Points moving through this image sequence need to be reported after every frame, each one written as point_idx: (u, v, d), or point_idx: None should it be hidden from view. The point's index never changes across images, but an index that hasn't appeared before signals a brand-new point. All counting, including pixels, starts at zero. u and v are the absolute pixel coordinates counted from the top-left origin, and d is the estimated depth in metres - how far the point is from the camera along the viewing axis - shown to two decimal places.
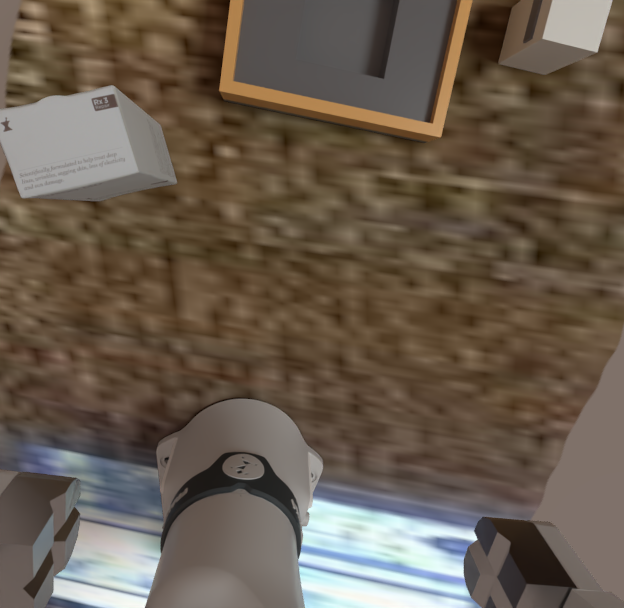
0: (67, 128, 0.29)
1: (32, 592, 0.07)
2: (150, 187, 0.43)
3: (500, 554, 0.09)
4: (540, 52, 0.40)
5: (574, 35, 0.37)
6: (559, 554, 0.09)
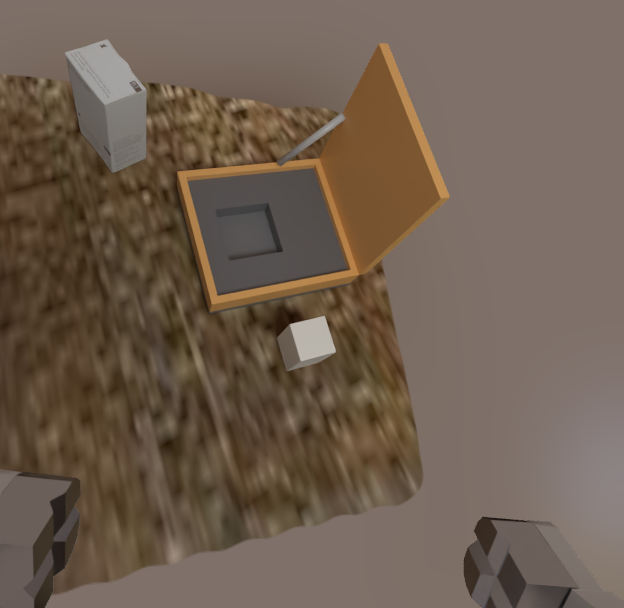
0: (114, 71, 0.54)
1: (32, 592, 0.07)
2: (102, 155, 0.64)
3: (500, 554, 0.09)
4: (287, 340, 0.61)
5: (301, 342, 0.58)
6: (559, 554, 0.09)
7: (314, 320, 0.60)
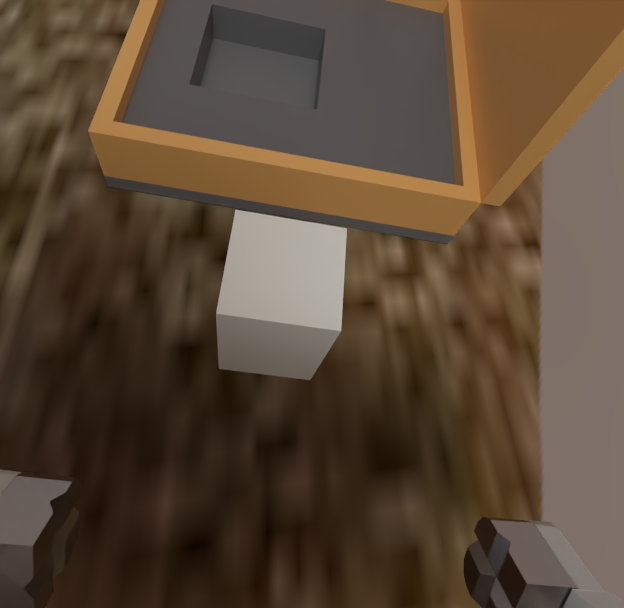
0: None
1: (32, 592, 0.07)
2: None
3: (500, 554, 0.09)
4: None
5: (246, 264, 0.19)
6: (559, 554, 0.09)
7: (312, 227, 0.20)
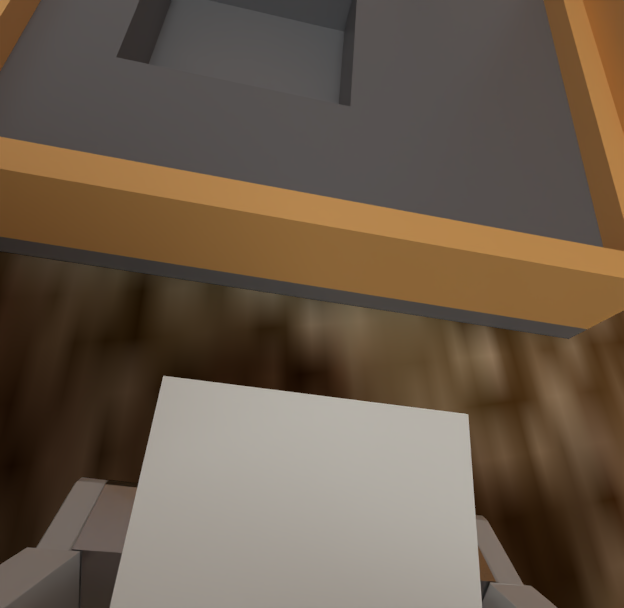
0: None
1: None
2: None
3: None
4: None
5: (183, 580, 0.06)
6: (484, 548, 0.08)
7: (378, 419, 0.07)
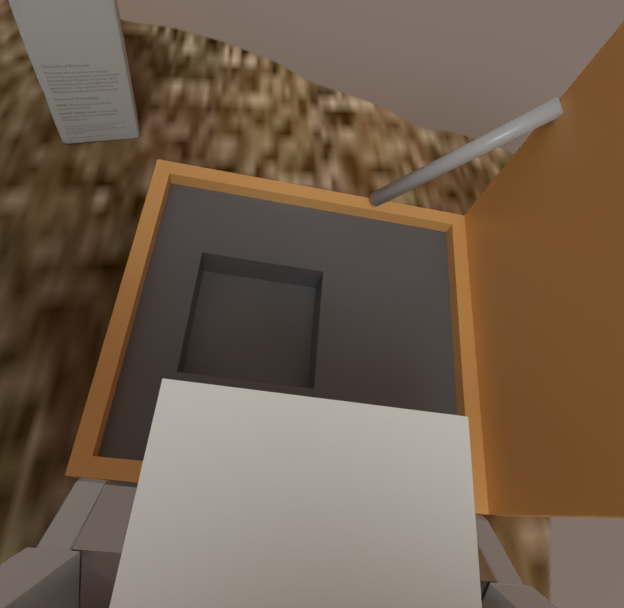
0: None
1: None
2: None
3: None
4: None
5: (181, 583, 0.06)
6: (483, 548, 0.08)
7: (377, 422, 0.07)
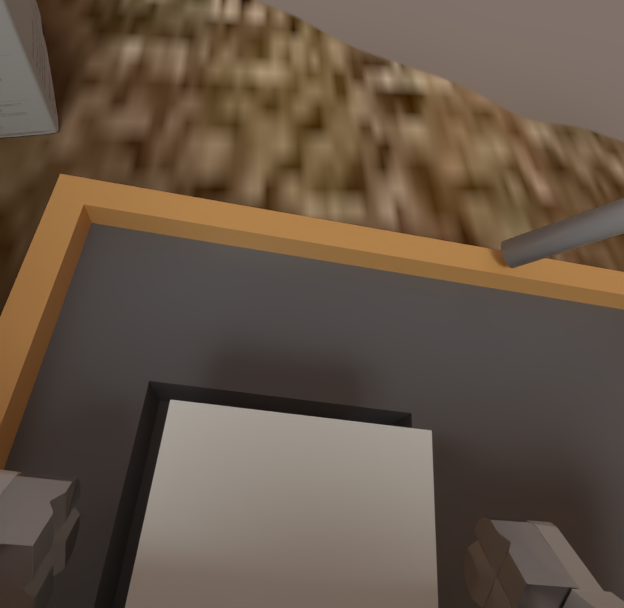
0: None
1: (32, 592, 0.07)
2: None
3: (500, 554, 0.09)
4: None
5: (187, 571, 0.07)
6: (559, 554, 0.09)
7: (353, 436, 0.09)
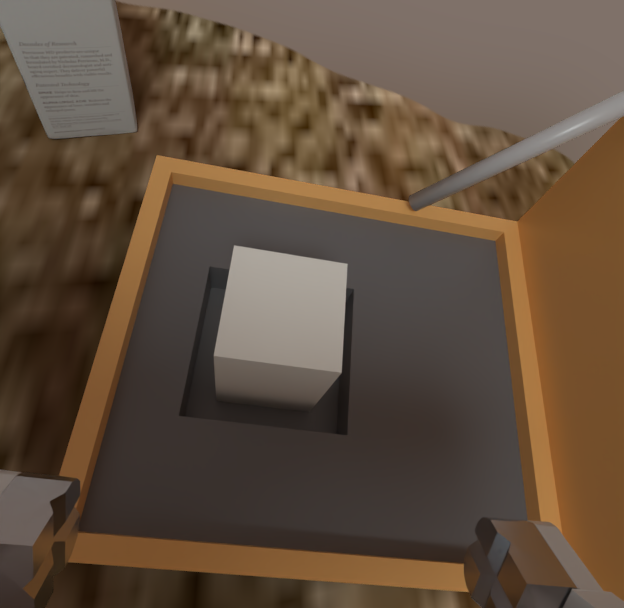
0: None
1: (32, 592, 0.07)
2: None
3: (500, 554, 0.09)
4: None
5: (244, 303, 0.18)
6: (559, 554, 0.09)
7: (312, 263, 0.20)
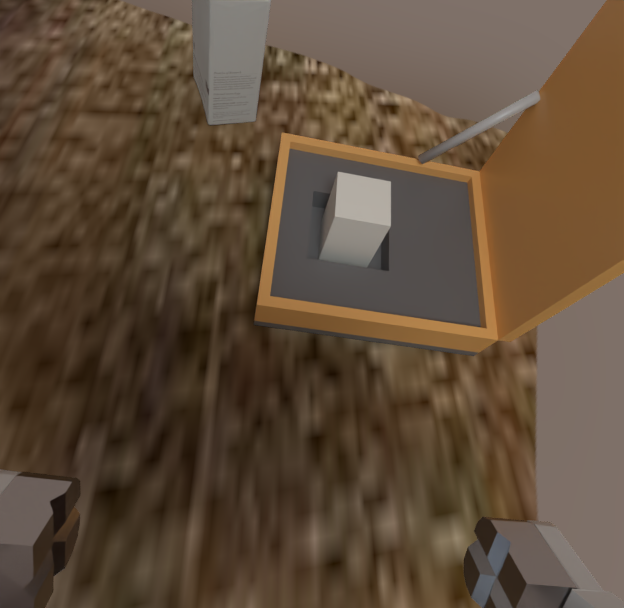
0: None
1: (32, 592, 0.07)
2: (204, 100, 0.51)
3: (500, 554, 0.09)
4: (330, 203, 0.43)
5: (345, 196, 0.40)
6: (559, 554, 0.09)
7: (374, 180, 0.41)
